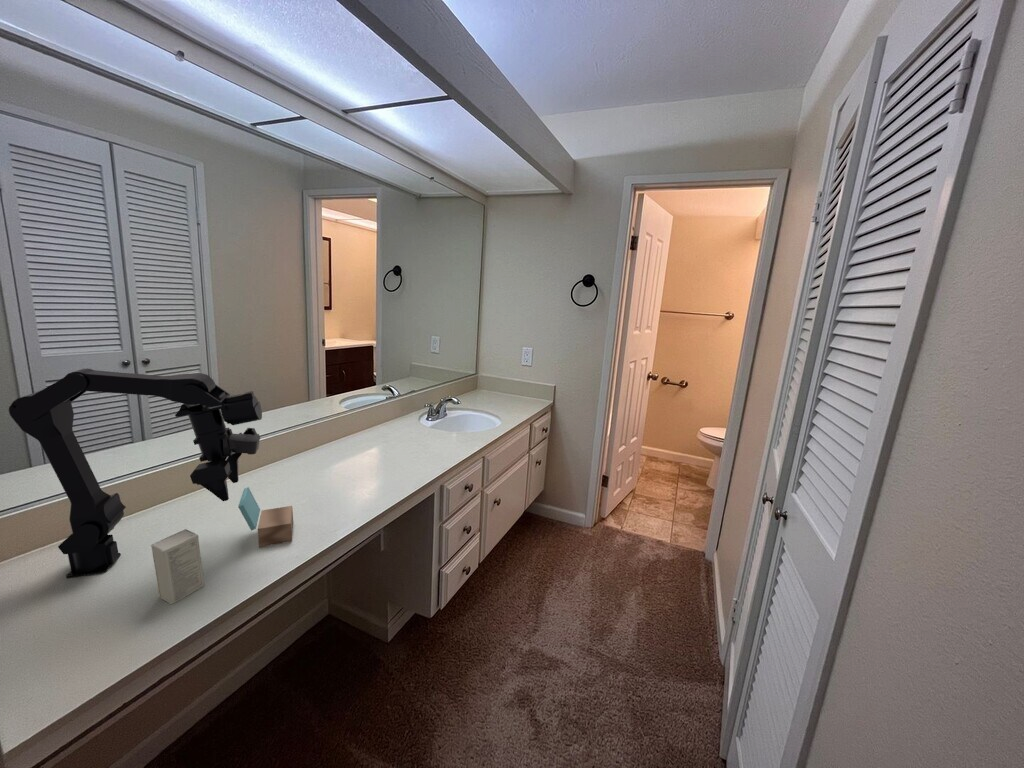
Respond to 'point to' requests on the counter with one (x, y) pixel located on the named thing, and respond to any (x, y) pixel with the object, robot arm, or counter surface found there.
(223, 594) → the counter surface
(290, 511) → the case
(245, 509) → the lid
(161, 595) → the skincare box
